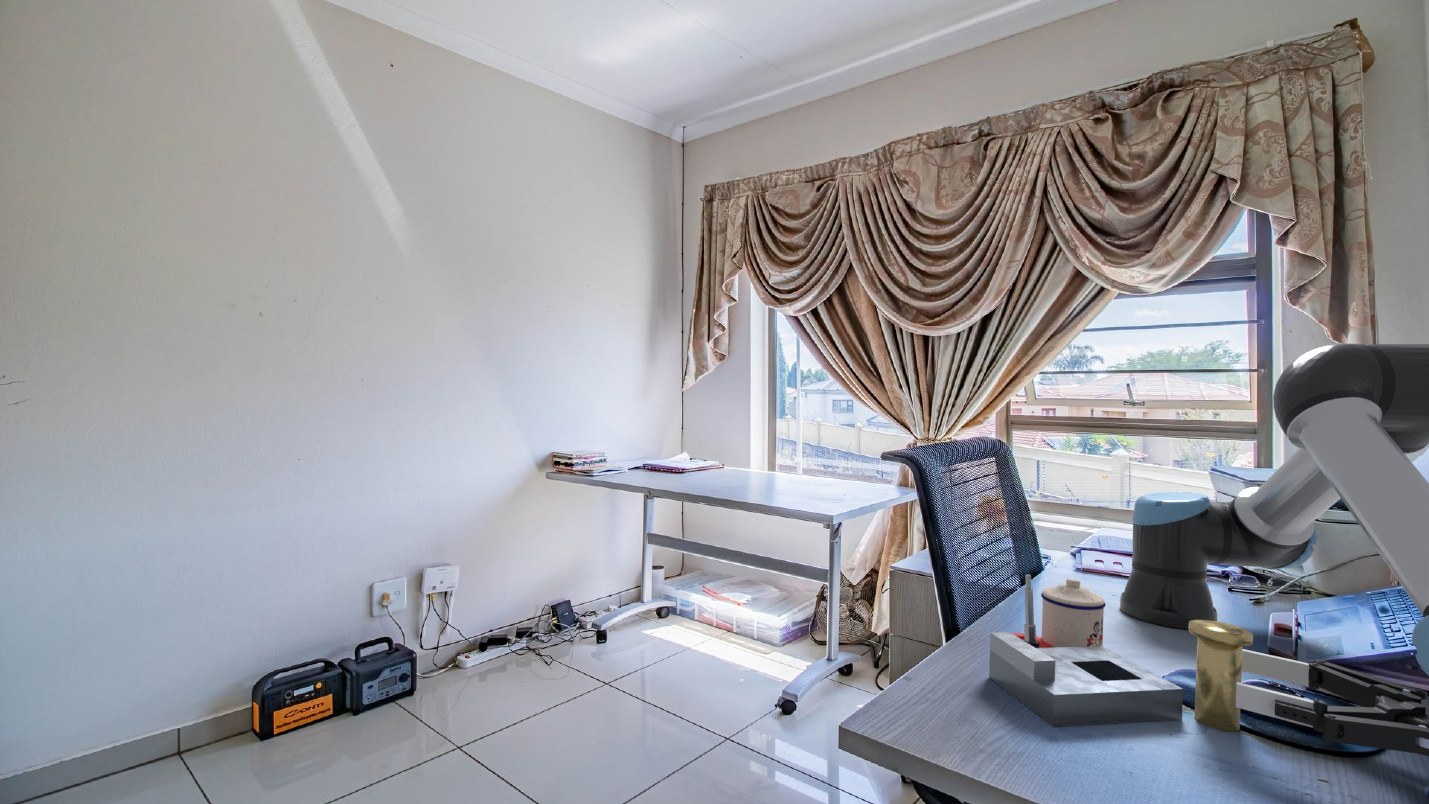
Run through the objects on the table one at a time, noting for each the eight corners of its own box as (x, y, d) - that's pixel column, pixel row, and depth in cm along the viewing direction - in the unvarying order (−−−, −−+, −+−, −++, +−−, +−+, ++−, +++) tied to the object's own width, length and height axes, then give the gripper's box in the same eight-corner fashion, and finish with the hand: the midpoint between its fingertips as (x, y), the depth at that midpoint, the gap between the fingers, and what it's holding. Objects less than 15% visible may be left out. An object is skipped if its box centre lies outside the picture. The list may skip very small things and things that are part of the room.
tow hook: (988, 639, 109) (1003, 659, 99) (985, 562, 109) (1001, 575, 100) (1040, 640, 107) (1061, 661, 98) (1038, 563, 108) (1058, 576, 99)
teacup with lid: (1101, 668, 97) (1103, 591, 97) (1035, 652, 102) (1037, 580, 102) (1108, 644, 107) (1110, 574, 107) (1047, 631, 112) (1049, 565, 112)
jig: (1100, 672, 95) (1102, 629, 95) (1182, 720, 82) (1183, 669, 81) (989, 677, 93) (990, 632, 93) (1053, 726, 79) (1055, 674, 79)
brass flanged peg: (1215, 709, 85) (1218, 619, 85) (1263, 734, 78) (1267, 637, 78) (1172, 711, 84) (1176, 620, 84) (1217, 737, 78) (1221, 639, 77)
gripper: (1544, 838, 56) (1232, 745, 70) (1477, 730, 75) (1242, 674, 89) (1547, 753, 56) (1234, 677, 70) (1479, 666, 75) (1243, 620, 89)
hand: (1238, 675), depth 79 cm, fingers open, 13 cm apart
